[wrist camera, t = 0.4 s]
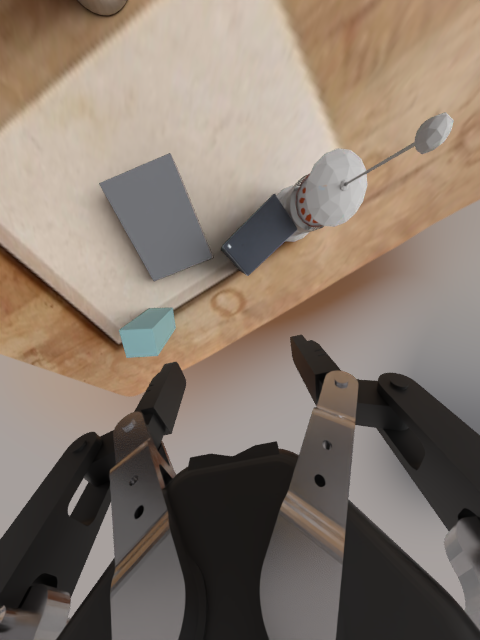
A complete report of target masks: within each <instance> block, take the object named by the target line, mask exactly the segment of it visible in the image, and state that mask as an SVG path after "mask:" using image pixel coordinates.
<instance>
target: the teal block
mask: <svg viewBox="0 0 480 640" xmlns="http://www.w3.org/2000/svg"><path fill="white" fill-rule="evenodd" d="M175 328H176V327H175V320H174V314H173V308H149V309H148V310H146V311H145V312H144V313H142V314H141V315H139V316H138V317H137V318H135V319H134V320H132V321H131V322H130V323H128V324H127V325H125V326H124V327H123V328H121V329H120V330H119V332H120V336H121V339H122V343H123V346H124V350H125V354H126V357H127V358H130V357H146V356H158V355H159V353H160V352H161V350H162V349H163V347H164V345H165V344H166V342H167V341H168V339H169V338H170V336H171V335H172V333H173V331H174V330H175Z"/></svg>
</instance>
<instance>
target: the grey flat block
mask: <svg viewBox="0 0 480 640" xmlns="http://www.w3.org/2000/svg"><path fill="white" fill-rule="evenodd" d="M99 184H100V186H101V188H102V190H103V192H104V193H105V195H106V197H107V199H108V201H109V202H110V204H111V206H112V208H113V209H114V211H115V213H116V215H117V217H118V218H119V220H120V222H121V224H122V226H123V227H124V229H125V231H126V233H127V234H128V236H129V238H130V240H131V242H132V243H133V245H134V247H135V249H136V251H137V252H138V254H139V256H140V258H141V259H142V261H143V263H144V265H145V267H146V268H147V270H148V272H149V274H150V276H151V277H152V279H153V281H156V280H159V279H162V278H164V277H167V276H169V275H172V274H174V273H177V272H179V271H181V270H184V269H186V268H189V267H191V266H194V265H196V264H199V263H201V262H204V261H206V260H209V259H211V258H214V257H213V255H212V252H211V250H210V248H209V245H208V243H207V240H206V238H205V235H204V233H203V230H202V228H201V225H200V223H199V220H198V218H197V215H196V213H195V210H194V208H193V205H192V203H191V201H190V198H189V196H188V193H187V191H186V188H185V186H184V183H183V181H182V178H181V176H180V173H179V171H178V168H177V166H176V164H175V162H174V160H173V158H172V156H171V154H170V153H169V154H167V155H164V156H162V157H160V158H157V159H155V160H153V161H150V162H148V163H146V164H143V165H141V166H139V167H136V168H134V169H132V170H129V171H127V172H125V173H122V174H120V175H118V176H115V177H113V178H111V179H108V180H106V181H104V182H101V183H99Z"/></svg>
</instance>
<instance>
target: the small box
mask: <svg viewBox="0 0 480 640" xmlns="http://www.w3.org/2000/svg"><path fill="white" fill-rule="evenodd" d="M296 231H297V227H296V225H295V224H294V222H293V221H292V219H291V217H290V216H289V214H288V213H287V211H286V210H285V208H284V207H283V205H282V204H281V202H280V201H279V199H278V198H277V196H276V195H275V194H273V195H272V196H271V197H270V198H269V199H268V200H267V201H266V202H265V203H264V204H263V205H262V206H261V207H260V208H259V209H258V210H257V211H256V212H255V213H254V214H253V215H252V216H251V217H250V218H249V219H248V220H247V221H246V222H245V223H244V224H243V225H242V226H241V227H240V228H239V229H238V230H237V231H236V232H235V233H234V234H233V235H232V236H231V237H230V238H229V239H228V240H227V241H226V242H225V243H224V244H223V246H222V248H221V251H222V252H223V253H225V255H226V256H227V257H228V258H229V259H230V260H231V262H232V263H233V264H234V265H235V266H236V267H237V268H238V269H239V270H240V271H241V272H243V273H244V274H246V275H247V276H248V275H250V274H251V273H252V272H253V271H254V270H255V269H256V268H257V267H258V266H259V265H260V264H261V263H262V262H263V261H265V260H266V259H267V258H268V257H269V256H270V255H271V254H272V253H273V252H274V251H275V250H276V249H277V248H278V247H279V246H281V245H282V244H283V243H284V242H285V241H286V240H287V239H288V238H289V237H290V236H291V235H292V234H293V233H294V232H296Z"/></svg>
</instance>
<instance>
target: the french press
mask: <svg viewBox="0 0 480 640" xmlns="http://www.w3.org/2000/svg"><path fill="white" fill-rule="evenodd" d="M452 125H453V119H452V118H451V117H450V116H449V115H448V114H447V113H446V112H445V113H442V114H439V115H437V116H434V117H432V118H429V119H428V120H426V121H425V122H424V123H423V124H422V125H421V126H420V128H419V129H418V131H417V133H416V136H415V142H414V143H412V144H411V145H409V146H407V147H406V148H404V149H402V150H401V151H399V152H397V153H395V154H394V155H392V156H390V157H389V158H387V159H385V160H384V161H382V162H380V163H379V164H377V165H375V166H374V167H372V168H370V169H369V170H367V171H366V169H365V166H364V164H363V162H362V160H361V158H360V157H359V156H358V155H356V154H355V153H354V152H352V151H351V150H346V149H336V150H333V151H331V152H328V153H326V154H324V155H323V156H322V157H321V158H320V159H319V160H318V161H317V162H316V163H315V164H314V166H313V169H312V171H311V173H310V174H308V175H306V176H304V177H302V178H301V179H300V180H301V181H302V182H301V181H300V180H299V181H298V182H297V183H298V184H299V185H298V184H297V183H296V185H297V186H296V185H294V186H290V187H288V188H285V189H283V190H282V191H281V192H280V193H279V194H278V195H277V198H278V199H279V201H280V202H281V204H282V205H283V207H284V208H285V210H286V211H287V213H288V214H289V216H290V217H291V219H292V221H293V222H294V224H295V225H296V227H297V231H296V232H294V233H293V234H292V235H291V236H290V237H289V238H288V239H287V240H286V241H297V240H299V239H302V238H304V237H305V236H306V235H307V234H308V233H309V232H311V231H314V229H315V228H316V227H317V228H316V229H315V230H317V229H320V228H322V227H324V226H337V225H340V224H342V223H345V222H346V221H348V220H349V219H350V218H351V217H352V216H353V215H354V214H355V213H356V212H357V210H358V208H359V207H360V205H361V203H362V202H363V199H364V195H365V192H366V188H367V173H368V172H370V171H372V170H374V169H375V168H377V167H379V166H381V165H382V164H384V163H386V162H388V161H389V160H391V159H393V158H395V157H396V156H398V155H400V154H402V153H403V152H405V151H407V150H409V149H410V148H412V147H414V146H415V147H416V150H417V151H418V152H420V153H421V154H424V153H427V152H430V151H432V150H434V149H435V148H437V147H438V146H439V145H441V144H442V143H443V142H444V141H445V140H446V138H447V136H448V135H449V133H450V132H451V128H452ZM305 177H306V178H305ZM303 178H305V179H303ZM302 179H303V180H302ZM299 182H300V183H301V184H300V183H299ZM320 226H321V227H320ZM312 227H313V228H314V227H315V228H314V229H313V228H312ZM319 227H320V228H319ZM312 229H313V230H312Z"/></svg>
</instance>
